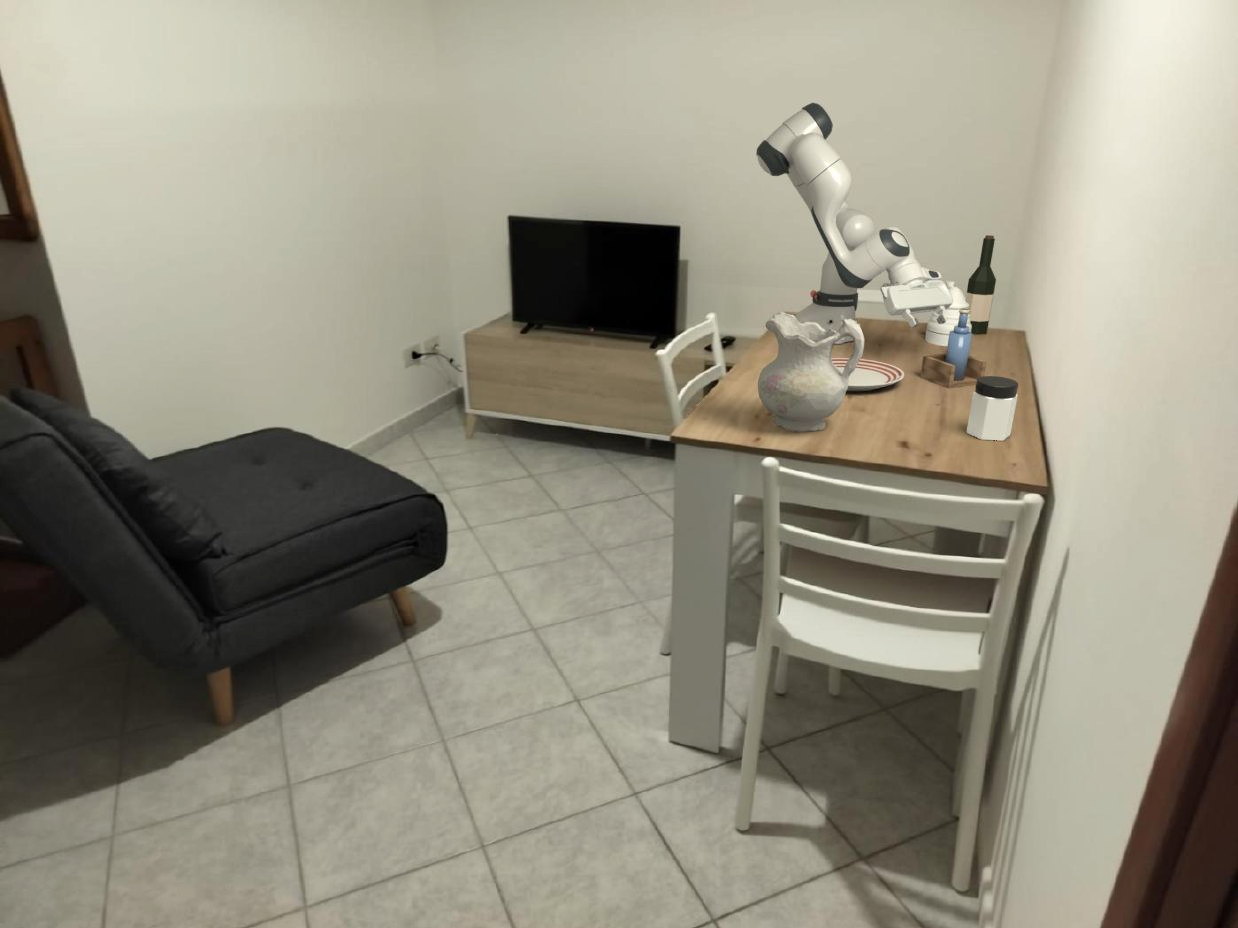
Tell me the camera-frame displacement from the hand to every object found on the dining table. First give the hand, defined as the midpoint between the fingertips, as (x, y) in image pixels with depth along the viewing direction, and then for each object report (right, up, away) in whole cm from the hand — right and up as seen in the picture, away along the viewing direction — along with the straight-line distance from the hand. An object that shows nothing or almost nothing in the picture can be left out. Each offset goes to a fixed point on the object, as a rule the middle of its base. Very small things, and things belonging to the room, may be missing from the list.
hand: (929, 324), depth 223 cm
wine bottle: (+31, +5, +45) cm, 55 cm away
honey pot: (+18, 0, +34) cm, 38 cm away
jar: (-3, -31, -42) cm, 53 cm away
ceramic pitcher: (-42, -29, -36) cm, 62 cm away
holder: (+4, -15, -5) cm, 17 cm away
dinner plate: (-23, -16, -5) cm, 29 cm away
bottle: (+4, -15, -6) cm, 17 cm away
